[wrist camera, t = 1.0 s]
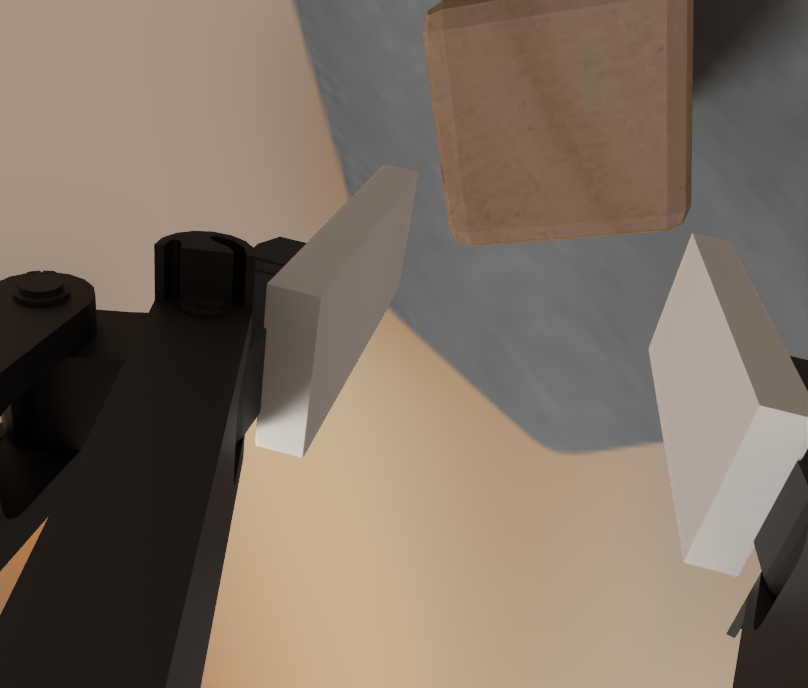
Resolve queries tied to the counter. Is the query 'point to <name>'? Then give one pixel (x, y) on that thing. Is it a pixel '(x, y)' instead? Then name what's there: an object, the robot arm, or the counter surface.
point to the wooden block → (562, 116)
